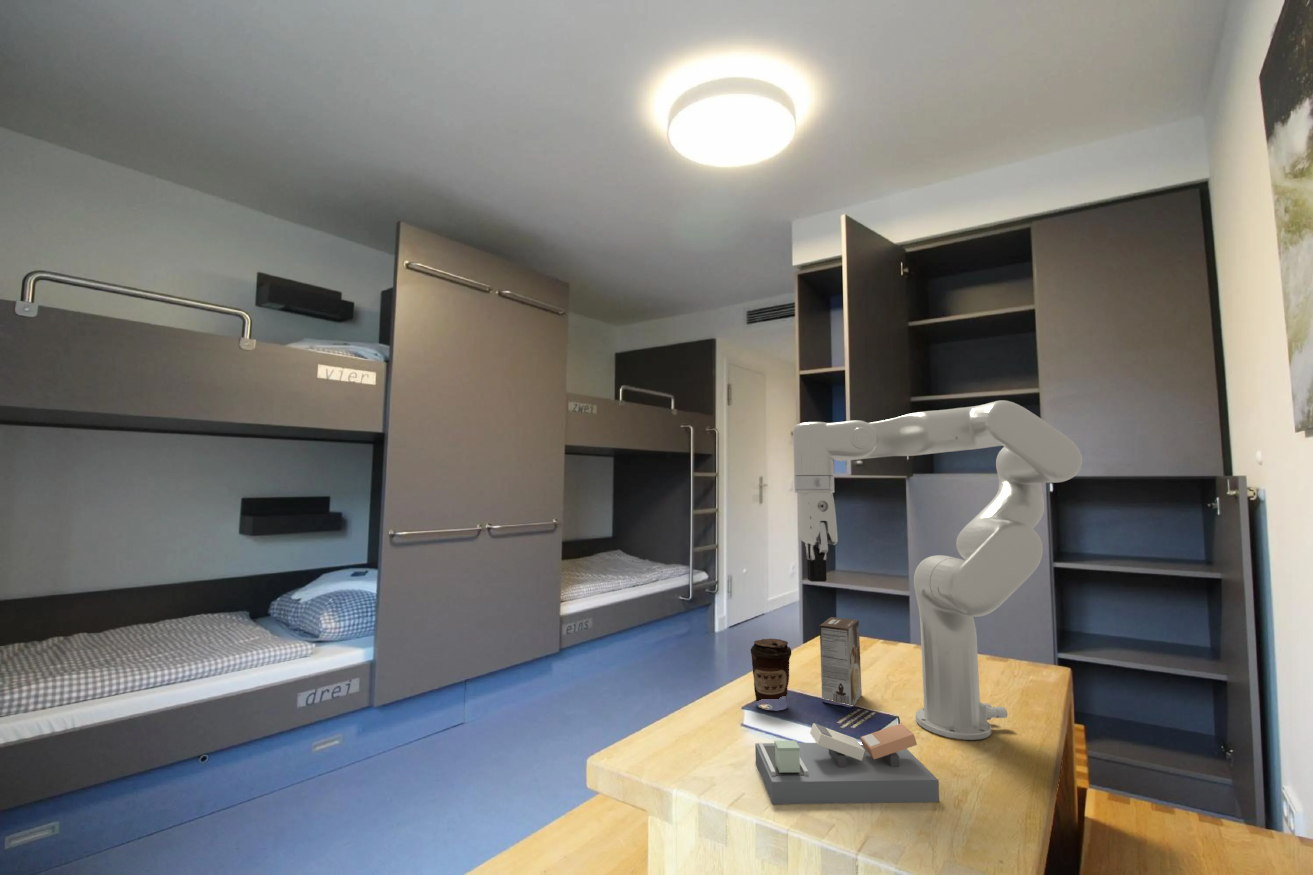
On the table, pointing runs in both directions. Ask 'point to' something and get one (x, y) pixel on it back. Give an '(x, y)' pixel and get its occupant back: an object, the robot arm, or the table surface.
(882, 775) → the panel
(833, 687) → the coffee box
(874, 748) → the rocker terracotta
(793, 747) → the green slider block
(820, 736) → the rocker cream
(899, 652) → the table surface
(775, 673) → the coffee cup
